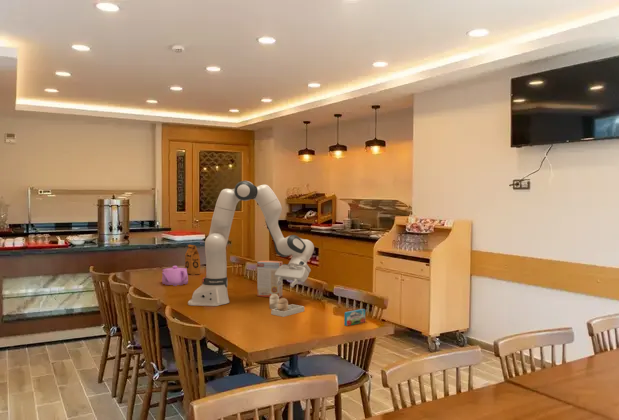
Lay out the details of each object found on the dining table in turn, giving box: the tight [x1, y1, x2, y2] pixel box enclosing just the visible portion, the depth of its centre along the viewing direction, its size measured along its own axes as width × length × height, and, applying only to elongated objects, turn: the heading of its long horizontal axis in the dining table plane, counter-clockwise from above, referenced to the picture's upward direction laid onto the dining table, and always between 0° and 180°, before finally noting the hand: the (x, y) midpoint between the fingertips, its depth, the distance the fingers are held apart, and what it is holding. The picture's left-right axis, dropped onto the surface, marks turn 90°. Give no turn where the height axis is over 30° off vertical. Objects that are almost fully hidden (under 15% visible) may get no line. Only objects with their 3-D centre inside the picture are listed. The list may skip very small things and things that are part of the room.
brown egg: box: [278, 297, 289, 312], centre depth 254 cm, size 5×5×8 cm
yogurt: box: [343, 308, 366, 327], centre depth 238 cm, size 12×2×6 cm, turn 129°
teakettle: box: [161, 265, 189, 287], centre depth 341 cm, size 17×17×12 cm
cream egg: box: [269, 294, 280, 309], centre depth 268 cm, size 5×5×8 cm
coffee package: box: [184, 244, 201, 276], centre depth 384 cm, size 10×12×22 cm
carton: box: [270, 303, 305, 318], centre depth 257 cm, size 16×8×3 cm, turn 141°
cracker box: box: [256, 260, 284, 298], centre depth 301 cm, size 14×6×21 cm, turn 71°
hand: (284, 285), depth 274 cm, fingers open, 8 cm apart
